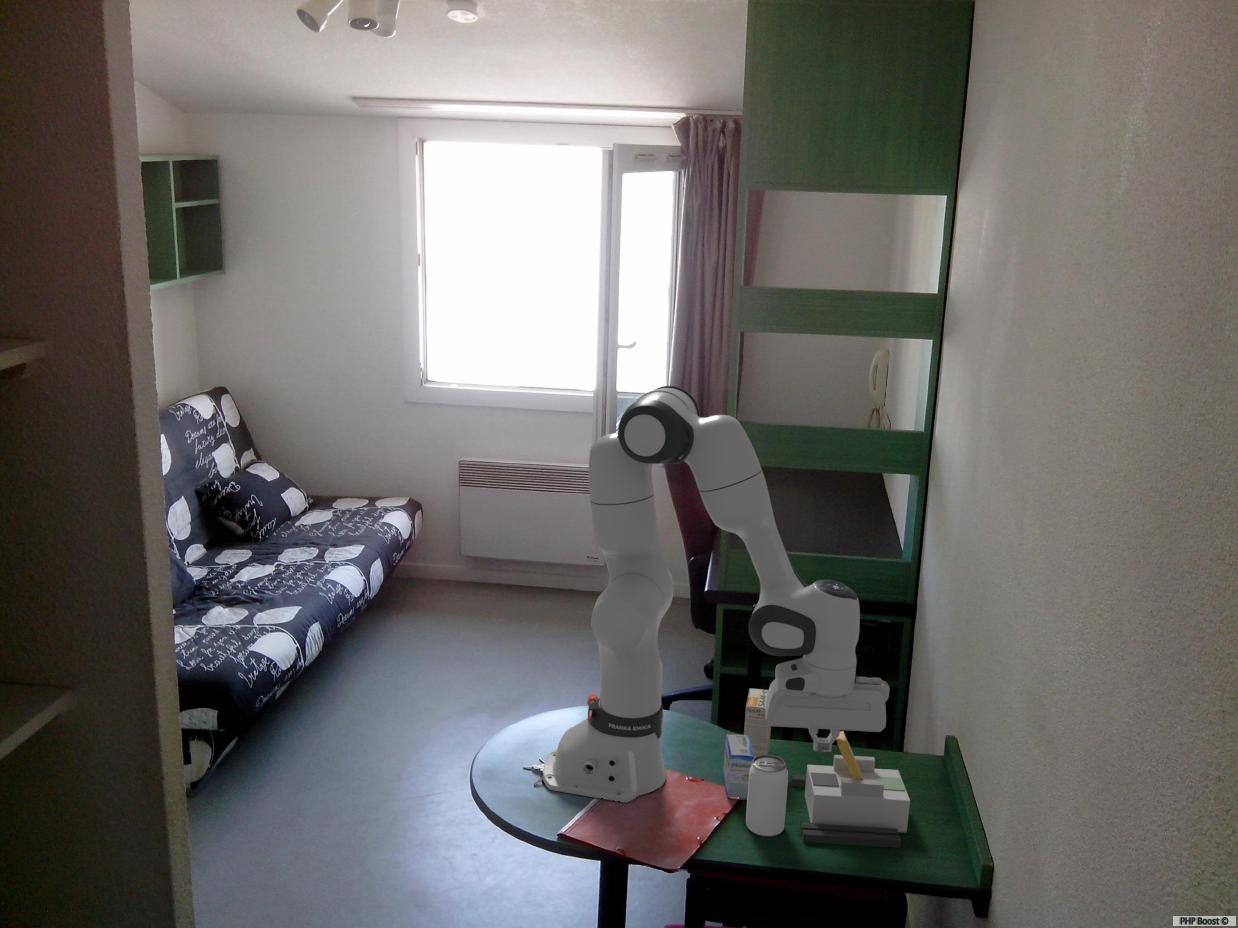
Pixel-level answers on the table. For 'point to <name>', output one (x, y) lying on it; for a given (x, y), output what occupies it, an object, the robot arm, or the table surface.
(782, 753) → the table surface
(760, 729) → the supplement box
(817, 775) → the white slotted housing
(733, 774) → the medicine box
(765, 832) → the can
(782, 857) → the table surface
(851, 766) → the lever
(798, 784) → the dark grey long bar
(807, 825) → the dark grey flat bar
